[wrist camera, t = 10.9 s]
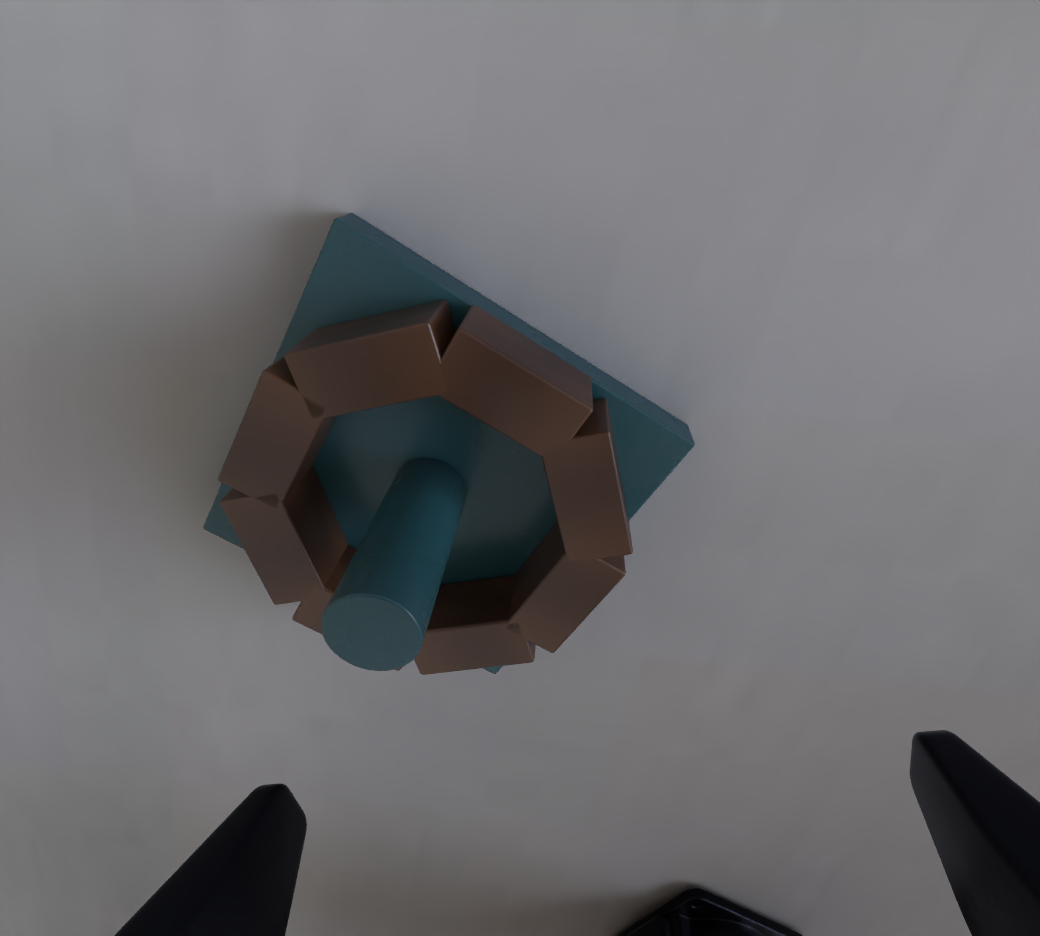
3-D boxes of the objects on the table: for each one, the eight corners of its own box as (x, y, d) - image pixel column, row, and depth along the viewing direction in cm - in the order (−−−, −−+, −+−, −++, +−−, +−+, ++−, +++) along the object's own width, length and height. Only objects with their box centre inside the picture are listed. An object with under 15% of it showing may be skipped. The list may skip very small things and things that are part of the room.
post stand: (688, 425, 17) (749, 586, 11) (499, 648, 21) (469, 848, 15) (351, 211, 15) (200, 265, 9) (222, 506, 19) (65, 673, 13)
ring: (696, 442, 15) (711, 481, 14) (502, 666, 20) (494, 719, 18) (350, 225, 14) (317, 239, 12) (218, 524, 18) (179, 567, 16)
